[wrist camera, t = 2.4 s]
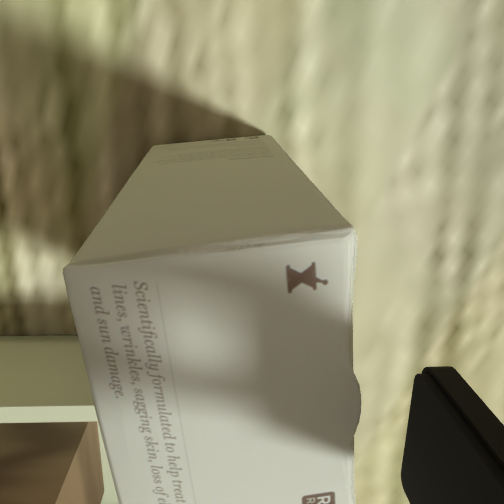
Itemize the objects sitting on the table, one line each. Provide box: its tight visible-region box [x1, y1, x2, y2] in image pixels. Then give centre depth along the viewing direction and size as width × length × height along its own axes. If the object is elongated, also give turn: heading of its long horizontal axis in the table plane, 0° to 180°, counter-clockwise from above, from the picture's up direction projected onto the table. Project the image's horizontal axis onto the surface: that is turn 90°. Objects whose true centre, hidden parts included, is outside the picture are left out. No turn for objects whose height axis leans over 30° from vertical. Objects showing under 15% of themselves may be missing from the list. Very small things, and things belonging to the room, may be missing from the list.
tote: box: [0, 335, 119, 504], centre depth 25 cm, size 20×14×6 cm
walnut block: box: [0, 421, 104, 504], centre depth 24 cm, size 6×6×7 cm
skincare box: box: [63, 135, 361, 504], centre depth 17 cm, size 8×6×15 cm
